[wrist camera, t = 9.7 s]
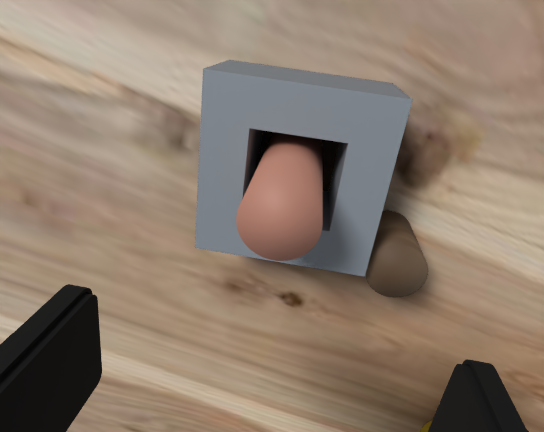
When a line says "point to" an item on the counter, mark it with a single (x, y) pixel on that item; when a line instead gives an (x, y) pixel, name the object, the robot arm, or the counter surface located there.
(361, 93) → the hole block
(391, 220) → the short pin
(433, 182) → the counter surface
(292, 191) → the long pin
